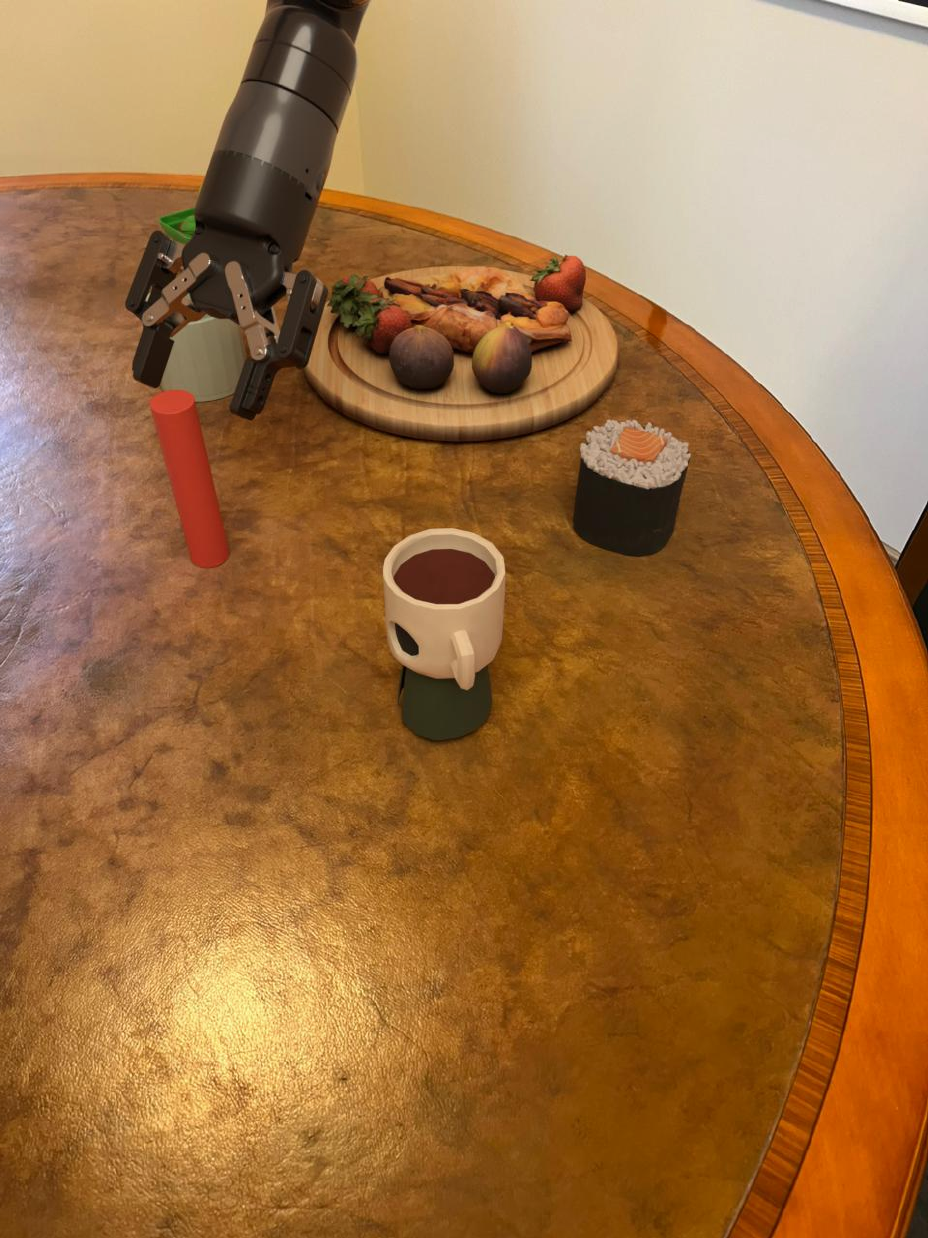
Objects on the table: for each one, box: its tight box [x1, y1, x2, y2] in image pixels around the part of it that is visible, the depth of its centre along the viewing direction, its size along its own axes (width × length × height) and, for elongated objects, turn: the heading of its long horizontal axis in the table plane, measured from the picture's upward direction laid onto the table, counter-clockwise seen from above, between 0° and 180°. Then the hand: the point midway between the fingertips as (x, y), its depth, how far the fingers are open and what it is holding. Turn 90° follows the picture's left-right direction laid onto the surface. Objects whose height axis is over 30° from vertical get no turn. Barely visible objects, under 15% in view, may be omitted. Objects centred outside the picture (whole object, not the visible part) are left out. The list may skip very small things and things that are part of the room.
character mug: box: [382, 527, 507, 742], centre depth 58 cm, size 11×7×13 cm, turn 15°
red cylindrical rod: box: [149, 390, 230, 569], centre depth 68 cm, size 3×3×14 cm
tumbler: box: [145, 291, 248, 403], centre depth 89 cm, size 9×9×8 cm
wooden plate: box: [302, 254, 621, 443], centre depth 92 cm, size 32×32×8 cm
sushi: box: [572, 418, 692, 558], centre depth 74 cm, size 8×8×8 cm
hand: (192, 400), depth 65 cm, fingers open, 8 cm apart
